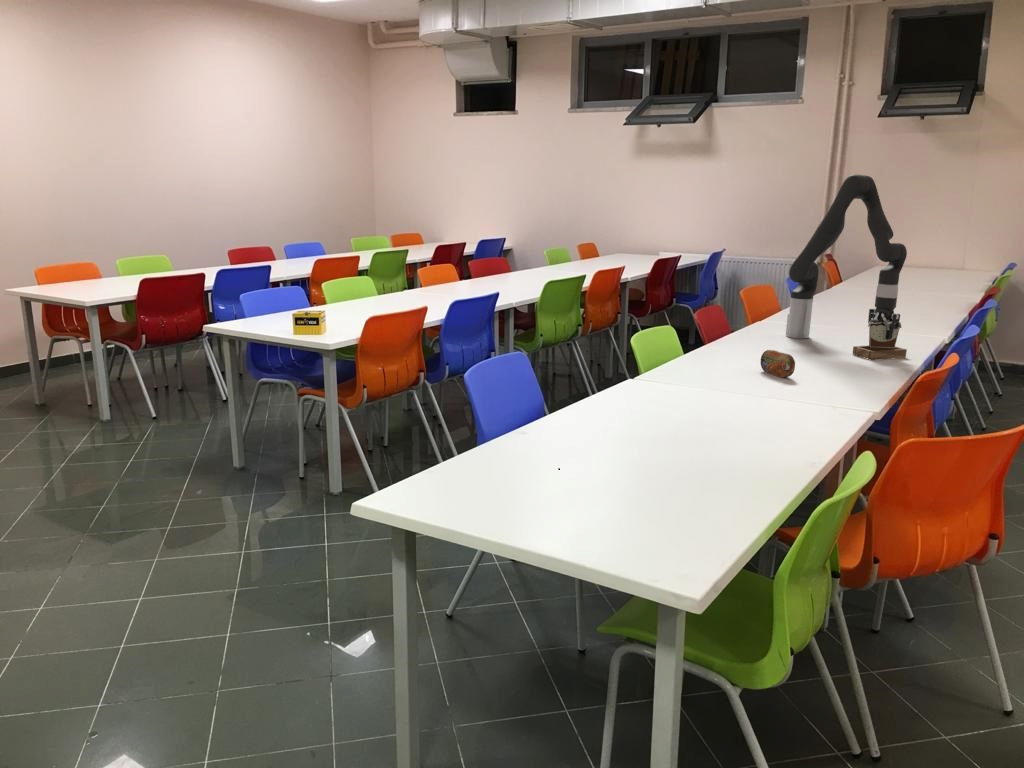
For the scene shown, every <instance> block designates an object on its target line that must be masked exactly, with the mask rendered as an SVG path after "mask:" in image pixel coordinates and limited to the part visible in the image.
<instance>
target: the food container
mask: <svg viewBox="0 0 1024 768" xmlns="http://www.w3.org/2000/svg"><path fill="white" fill-rule="evenodd" d="M889 322H890V321H889ZM901 323H902V322H901V321H899V326H898V329H895V330H893V335H892V338H891V340H886V331H887V327H886V325H885V324H884V322H882V321H880V322H874V320H870V322H869V324H868V323H867V327H868V329H869V330H868V335H869V336H868V345H869V347H881V348H895V346H896V343H897V341H898V340H897V339H898V336H899V331H900V329H902V324H901ZM895 324H896V323H895ZM889 325H890V324H889ZM894 326H895V325H894ZM890 327H891V325H890Z"/></svg>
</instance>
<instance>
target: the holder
mask: <svg viewBox="0 0 1024 768" xmlns="http://www.w3.org/2000/svg"><path fill="white" fill-rule="evenodd" d="M852 348H853V349H852V354H855V355H858V356H857V357H859V356H861V357H860V358H862V357H865V358H864V359H866V358H868V359H867V360H869V359H871V360H870V361H876V360H875V359H882V360H890V359H891V360H892V358H895V359H906V357H907V352H908V349H906V348H904V347H903V348H902V347H898V346H896V345H895V348H881V347H869V344H868V345H855V346H853V347H852ZM855 355H854V356H855Z"/></svg>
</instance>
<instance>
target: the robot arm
mask: <svg viewBox="0 0 1024 768" xmlns="http://www.w3.org/2000/svg"><path fill="white" fill-rule="evenodd" d="M855 199H857V200H861V201H862V203H863V204H864V205H865V207H866V210H867V218H866V219H867V221H866V223H867V227H868V230H869V232H870V234H871V236H872V238H873V240H874V246H875V254H876V257H877V258H878V259H879V260H880V261H881V262H883V263H888V264H887V266H886V267H884V268H881V270H879V275H878V283H877V286H876V292H875V302H874V307H875V308H869V309H868V319H867V325H868V324H869V322H870V320H874V322H880V321H882V322H884V324H885V325H886V327H887V331H886V340H891V338H892V335H893V330H895V329H898V326H899V322H900V320H901V319H900V318H901V314H900V313H895V311H894V310H895V309H896V308H897V301H898V293H899V281H900V273H901V271H902V269H903V267H904V264H905V261H906V259H907V254H908V252H907V247H906V245H904V244H903V243H901V242H893V243H891V242H890V240H891V239H893V237H894V230H893V229H892V227H891V225H890V222H889V221H888V219H887V216H886V215H885V211H884V210H883V206H882V203H881V200H880V196H879V192H878V188H877V185H876V181H875V180H874V178H873V177H872V176H871V175H870V176H869V175H866V174H851V175H849V176H847V177H846V178H845V179H844V180H843V182H842V184H841V186H840V188H839V190H838V191H837V193H836V196H835V198H834V200H833V203H832V204H831V205H830V207H829V209H828V211H826V214H825V216H824V217H823V218H822V220H821V221H820V224H818V226H817V228H816V229H815V230H814V232H813V235H812V236H811V237H810V240H808V242H807V244H806V245H805V247H804V249H803V250H801V252H800V254H798V256H797V257H796V258H795V260H794V261H793V263H792V264H791V266H790V267H789V272H788V276H789V279H790V280H791V281H792V282H793V283H798V285H797V286H796V287H795V288H794V289H792V291H791V292H790V301H789V313H788V314H787V319H786V330H785V336H786V337H788V338H792V339H809V338H810V332H811V323H812V313H813V303H814V295H815V293H816V291H817V286H818V279H819V275H820V274H819V266H818V264H817V262H815V261H816V260H817V259H818V258H819V257H820V256H821V255H822V254H824V253H825V252H826V251H827V250H828V249H830V248H831V247H832V246H834V244H835V243H836V242H837V240H838V239H839V237H840V236H841V234H842V233H843V230H844V228H845V221H846V213H847V210H848V208H849V207H850V205H851V203H852V202H853V201H854V200H855ZM889 321H890V322H889ZM895 323H896V324H895ZM889 324H890V325H891V327H890V325H889ZM894 325H895V326H894Z"/></svg>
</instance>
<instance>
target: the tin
mask: <svg viewBox="0 0 1024 768" xmlns="http://www.w3.org/2000/svg"><path fill="white" fill-rule="evenodd" d="M760 357H761V358H760V367H761V369H762V371H763V372H764V373H766V374H768V375H772V376H776V377H778V378H789V377H791V376H792V375H793V374H794V372H795V368H796V361H795V359H794V357H793V355H791V354H790V353H785V352H782V351H778V350H774V349H767V350H765V351H763V352H762V354H761V356H760Z"/></svg>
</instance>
